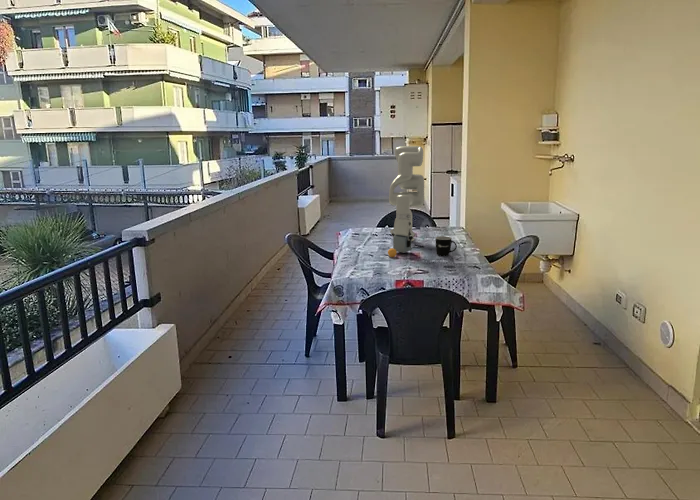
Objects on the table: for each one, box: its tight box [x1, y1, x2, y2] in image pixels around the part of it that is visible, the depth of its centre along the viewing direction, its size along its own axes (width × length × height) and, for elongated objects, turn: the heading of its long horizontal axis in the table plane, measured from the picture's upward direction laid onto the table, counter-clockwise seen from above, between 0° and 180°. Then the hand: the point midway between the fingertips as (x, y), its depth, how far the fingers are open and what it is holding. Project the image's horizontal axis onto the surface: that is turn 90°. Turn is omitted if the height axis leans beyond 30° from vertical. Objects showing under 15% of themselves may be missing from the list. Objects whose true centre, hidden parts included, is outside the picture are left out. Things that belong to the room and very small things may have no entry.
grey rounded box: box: [392, 235, 412, 254], centre depth 292 cm, size 8×8×9 cm
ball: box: [387, 247, 398, 258], centre depth 284 cm, size 5×5×5 cm
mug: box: [435, 235, 458, 257], centre depth 286 cm, size 12×9×10 cm
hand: (402, 245), depth 292 cm, fingers closed on grey rounded box, 7 cm apart
